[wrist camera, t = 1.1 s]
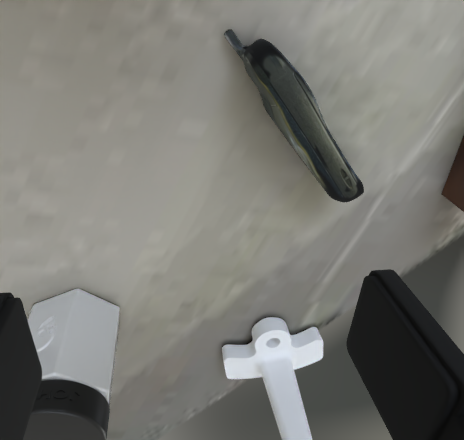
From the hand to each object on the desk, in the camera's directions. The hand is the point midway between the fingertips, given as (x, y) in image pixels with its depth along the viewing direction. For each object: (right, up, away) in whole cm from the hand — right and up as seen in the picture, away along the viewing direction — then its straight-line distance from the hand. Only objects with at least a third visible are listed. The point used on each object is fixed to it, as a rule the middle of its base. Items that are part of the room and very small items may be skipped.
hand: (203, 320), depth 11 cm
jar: (-14, -7, +28) cm, 32 cm away
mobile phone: (+5, +11, +19) cm, 23 cm away
